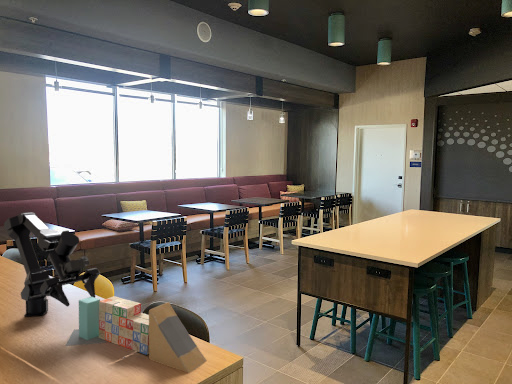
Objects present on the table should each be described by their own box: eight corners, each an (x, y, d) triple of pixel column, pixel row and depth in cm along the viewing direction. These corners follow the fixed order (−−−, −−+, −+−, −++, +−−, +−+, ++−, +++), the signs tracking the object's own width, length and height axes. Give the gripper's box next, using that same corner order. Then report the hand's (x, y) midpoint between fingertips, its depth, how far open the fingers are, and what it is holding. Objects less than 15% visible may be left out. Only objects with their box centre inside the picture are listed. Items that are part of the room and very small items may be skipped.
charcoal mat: (65, 347, 122) (65, 345, 122) (73, 331, 133) (73, 329, 133) (106, 344, 124) (106, 342, 124) (111, 328, 136) (111, 327, 136)
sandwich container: (189, 374, 108) (190, 320, 107) (148, 359, 116) (148, 309, 115) (208, 361, 116) (208, 311, 115) (168, 348, 123) (168, 301, 122)
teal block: (79, 336, 128) (78, 300, 127) (91, 331, 132) (91, 296, 131) (87, 340, 126) (87, 303, 125) (100, 335, 130) (99, 299, 129)
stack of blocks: (161, 348, 123) (163, 309, 122) (147, 356, 117) (148, 315, 116) (113, 331, 133) (114, 295, 132) (97, 337, 127) (98, 300, 127)
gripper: (43, 254, 125) (64, 295, 119) (96, 245, 140) (116, 281, 135) (31, 274, 130) (50, 315, 124) (84, 263, 145) (102, 299, 140)
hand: (81, 301), depth 131 cm, fingers open, 9 cm apart
